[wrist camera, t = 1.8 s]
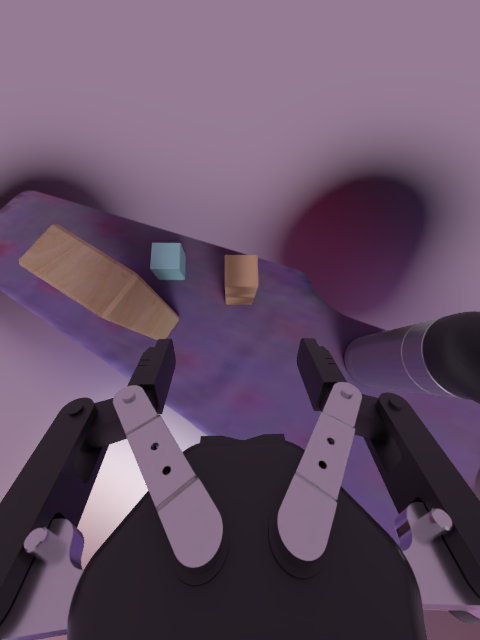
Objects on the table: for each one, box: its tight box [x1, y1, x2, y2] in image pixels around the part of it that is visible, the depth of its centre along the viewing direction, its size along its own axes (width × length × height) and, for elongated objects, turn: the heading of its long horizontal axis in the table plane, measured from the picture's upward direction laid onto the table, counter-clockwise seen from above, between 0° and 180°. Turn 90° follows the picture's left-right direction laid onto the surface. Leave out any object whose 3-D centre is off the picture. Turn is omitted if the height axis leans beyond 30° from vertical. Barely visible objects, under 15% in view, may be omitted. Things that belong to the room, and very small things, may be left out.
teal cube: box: [150, 243, 186, 280], centre depth 41 cm, size 5×5×5 cm
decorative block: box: [19, 224, 179, 340], centre depth 32 cm, size 11×6×20 cm, turn 57°
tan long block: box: [225, 255, 258, 305], centre depth 38 cm, size 5×5×10 cm
